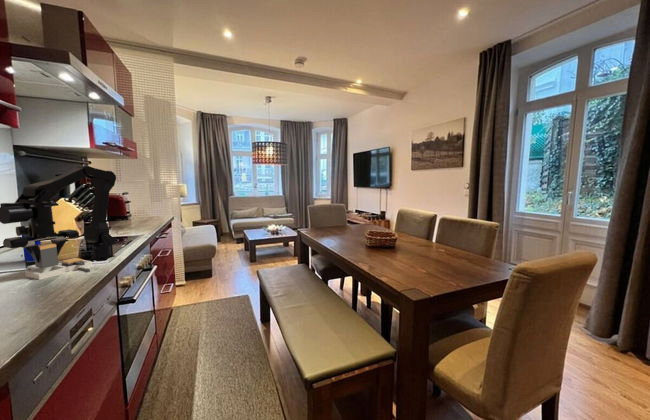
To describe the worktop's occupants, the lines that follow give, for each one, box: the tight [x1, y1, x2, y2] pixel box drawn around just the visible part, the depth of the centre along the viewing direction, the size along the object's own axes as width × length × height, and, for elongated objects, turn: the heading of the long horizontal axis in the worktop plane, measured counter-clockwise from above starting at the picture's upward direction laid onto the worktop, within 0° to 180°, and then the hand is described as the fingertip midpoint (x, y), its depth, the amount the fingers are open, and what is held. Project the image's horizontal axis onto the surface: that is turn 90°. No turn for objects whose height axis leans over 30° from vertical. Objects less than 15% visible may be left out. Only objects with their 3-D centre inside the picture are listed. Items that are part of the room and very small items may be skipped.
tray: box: [26, 259, 62, 270], centre depth 107 cm, size 9×9×1 cm
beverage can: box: [21, 225, 42, 263], centre depth 114 cm, size 5×5×15 cm
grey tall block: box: [34, 242, 59, 269], centre depth 99 cm, size 4×4×8 cm
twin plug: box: [60, 257, 91, 273], centre depth 105 cm, size 4×12×4 cm, turn 69°
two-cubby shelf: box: [24, 259, 93, 280], centre depth 103 cm, size 16×9×2 cm, turn 160°
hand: (46, 260), depth 99 cm, fingers closed on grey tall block, 4 cm apart
